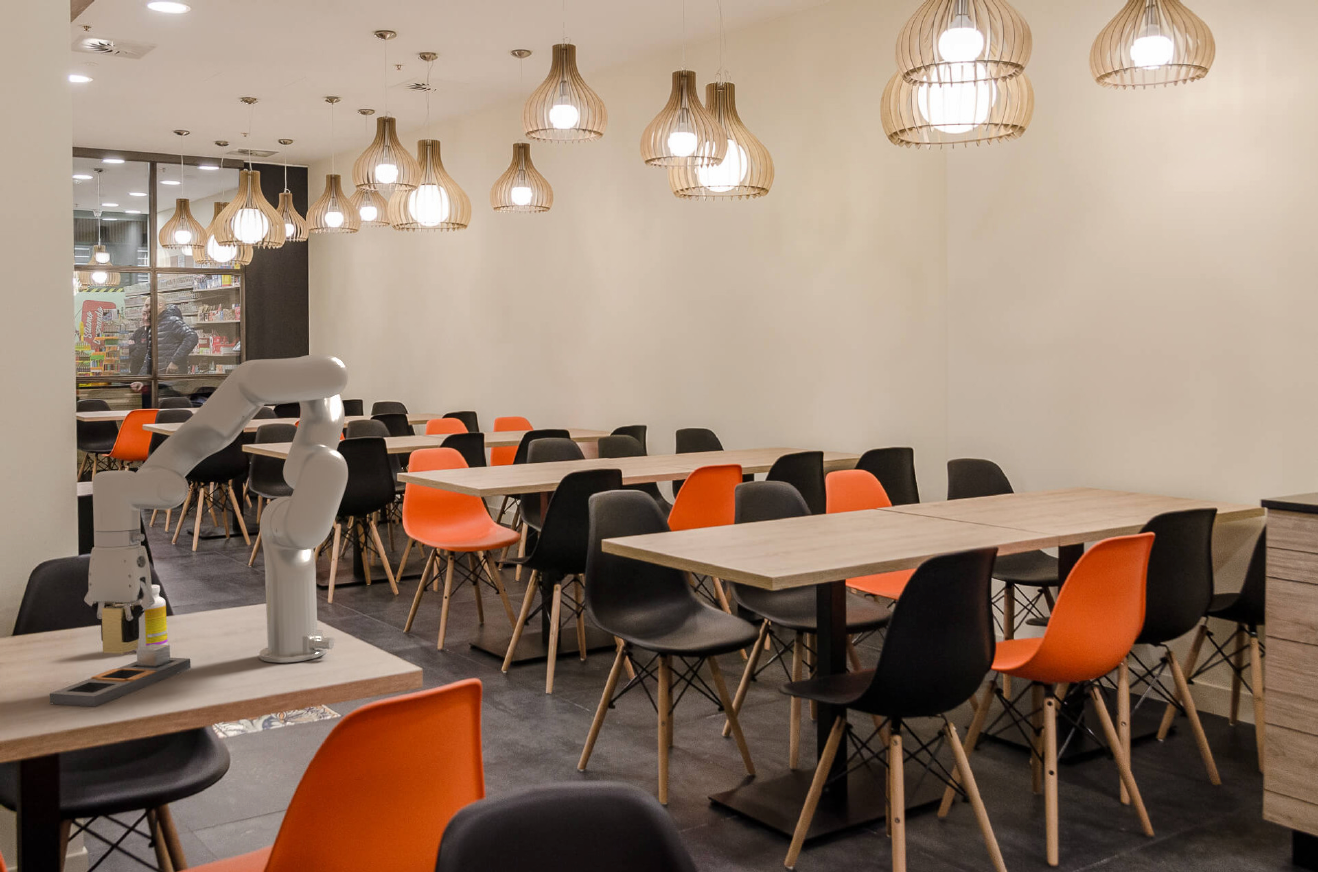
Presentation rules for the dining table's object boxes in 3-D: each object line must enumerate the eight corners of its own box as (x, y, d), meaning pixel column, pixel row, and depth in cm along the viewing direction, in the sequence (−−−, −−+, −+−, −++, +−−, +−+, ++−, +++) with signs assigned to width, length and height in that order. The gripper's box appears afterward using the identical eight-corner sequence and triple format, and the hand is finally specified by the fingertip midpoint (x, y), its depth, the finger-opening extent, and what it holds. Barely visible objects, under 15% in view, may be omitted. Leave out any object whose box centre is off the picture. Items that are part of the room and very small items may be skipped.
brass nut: (137, 648, 199) (136, 604, 198) (121, 653, 195) (120, 609, 194) (118, 647, 200) (117, 603, 199) (102, 652, 196) (101, 608, 195)
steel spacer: (170, 671, 207) (169, 645, 207) (156, 676, 203) (155, 650, 203) (152, 669, 208) (151, 644, 208) (137, 675, 204) (136, 649, 204)
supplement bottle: (174, 644, 228) (171, 583, 227) (156, 652, 221) (153, 589, 221) (143, 644, 229) (141, 583, 228) (125, 652, 222) (122, 589, 221)
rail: (190, 667, 209) (190, 657, 209) (94, 706, 185) (94, 694, 185) (150, 665, 211) (149, 655, 211) (50, 703, 187) (49, 692, 187)
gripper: (171, 537, 198) (174, 637, 199) (93, 535, 202) (96, 633, 203) (143, 543, 191) (146, 647, 192) (62, 540, 195) (65, 642, 195)
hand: (120, 639), depth 197 cm, fingers closed on brass nut, 4 cm apart
